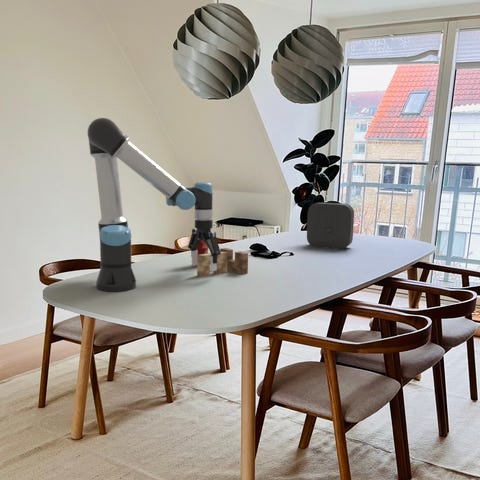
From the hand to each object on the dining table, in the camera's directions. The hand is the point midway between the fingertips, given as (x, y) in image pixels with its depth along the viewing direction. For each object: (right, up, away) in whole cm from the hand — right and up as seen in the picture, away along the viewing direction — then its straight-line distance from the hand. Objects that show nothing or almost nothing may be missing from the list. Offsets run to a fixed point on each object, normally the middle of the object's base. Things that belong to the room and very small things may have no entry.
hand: (203, 268), depth 231 cm
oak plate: (+3, -3, +4) cm, 6 cm away
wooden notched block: (+13, -2, +11) cm, 17 cm away
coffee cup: (-3, 0, +20) cm, 21 cm away
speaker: (+66, +8, +76) cm, 101 cm away
